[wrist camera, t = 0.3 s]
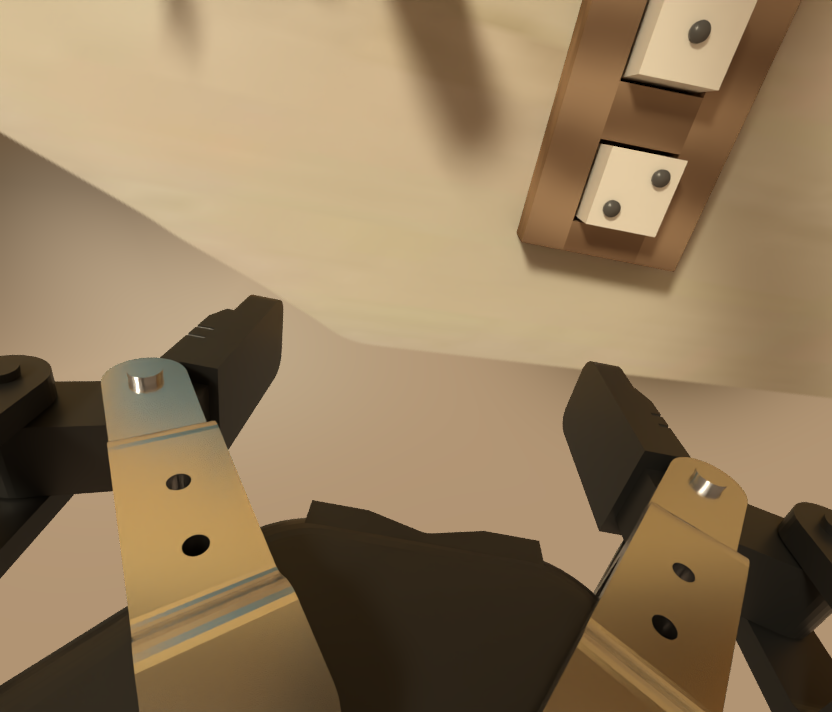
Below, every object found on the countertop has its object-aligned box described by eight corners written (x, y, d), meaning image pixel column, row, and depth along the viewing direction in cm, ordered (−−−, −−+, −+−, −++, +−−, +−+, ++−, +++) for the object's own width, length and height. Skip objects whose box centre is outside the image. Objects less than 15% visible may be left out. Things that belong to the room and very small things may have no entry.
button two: (597, 142, 32) (614, 146, 29) (664, 156, 32) (690, 161, 29) (573, 214, 34) (587, 224, 31) (636, 226, 35) (656, 238, 31)
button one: (650, -16, 28) (678, -34, 24) (728, 1, 28) (766, -15, 25) (619, 78, 30) (640, 73, 27) (690, 93, 30) (721, 90, 27)
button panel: (666, -296, 24) (693, -348, 21) (883, -245, 24) (936, -290, 21) (516, 232, 37) (522, 241, 34) (657, 260, 37) (674, 271, 35)
